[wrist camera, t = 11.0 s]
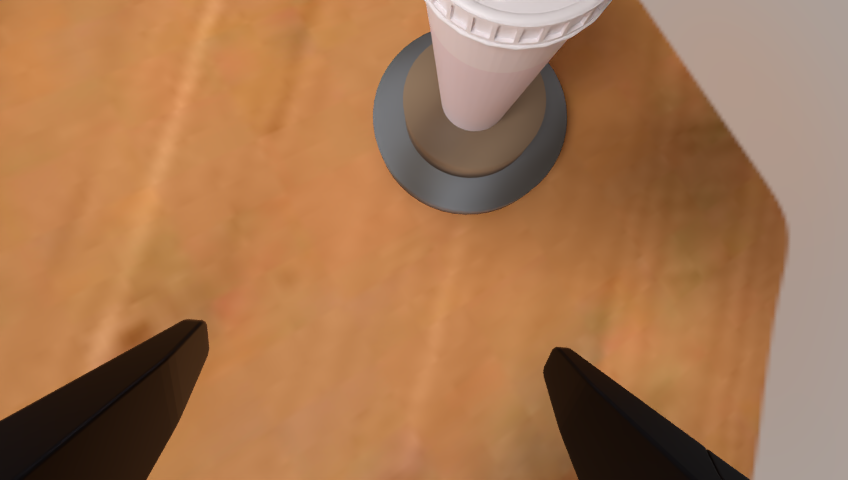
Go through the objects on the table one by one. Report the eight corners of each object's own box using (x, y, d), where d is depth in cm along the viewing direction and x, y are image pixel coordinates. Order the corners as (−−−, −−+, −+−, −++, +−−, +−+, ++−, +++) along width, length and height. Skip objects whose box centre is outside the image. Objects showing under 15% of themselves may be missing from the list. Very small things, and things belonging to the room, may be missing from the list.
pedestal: (590, 96, 22) (620, 64, 19) (498, 249, 21) (512, 245, 18) (437, 9, 23) (438, -38, 19) (342, 154, 22) (326, 132, 18)
